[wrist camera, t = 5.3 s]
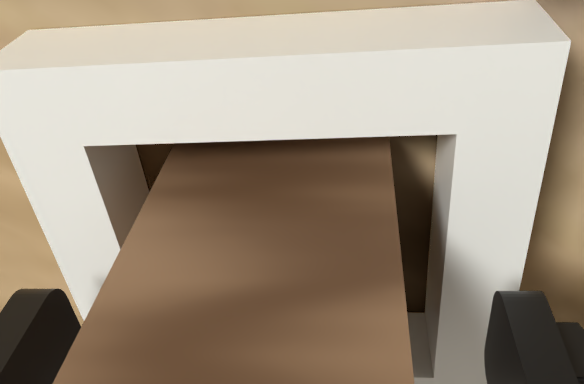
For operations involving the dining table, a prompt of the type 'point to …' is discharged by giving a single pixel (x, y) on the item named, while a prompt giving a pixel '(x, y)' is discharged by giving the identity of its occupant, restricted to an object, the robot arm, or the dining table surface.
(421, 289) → the dining table surface
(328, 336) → the walnut block
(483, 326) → the white pocket frame
